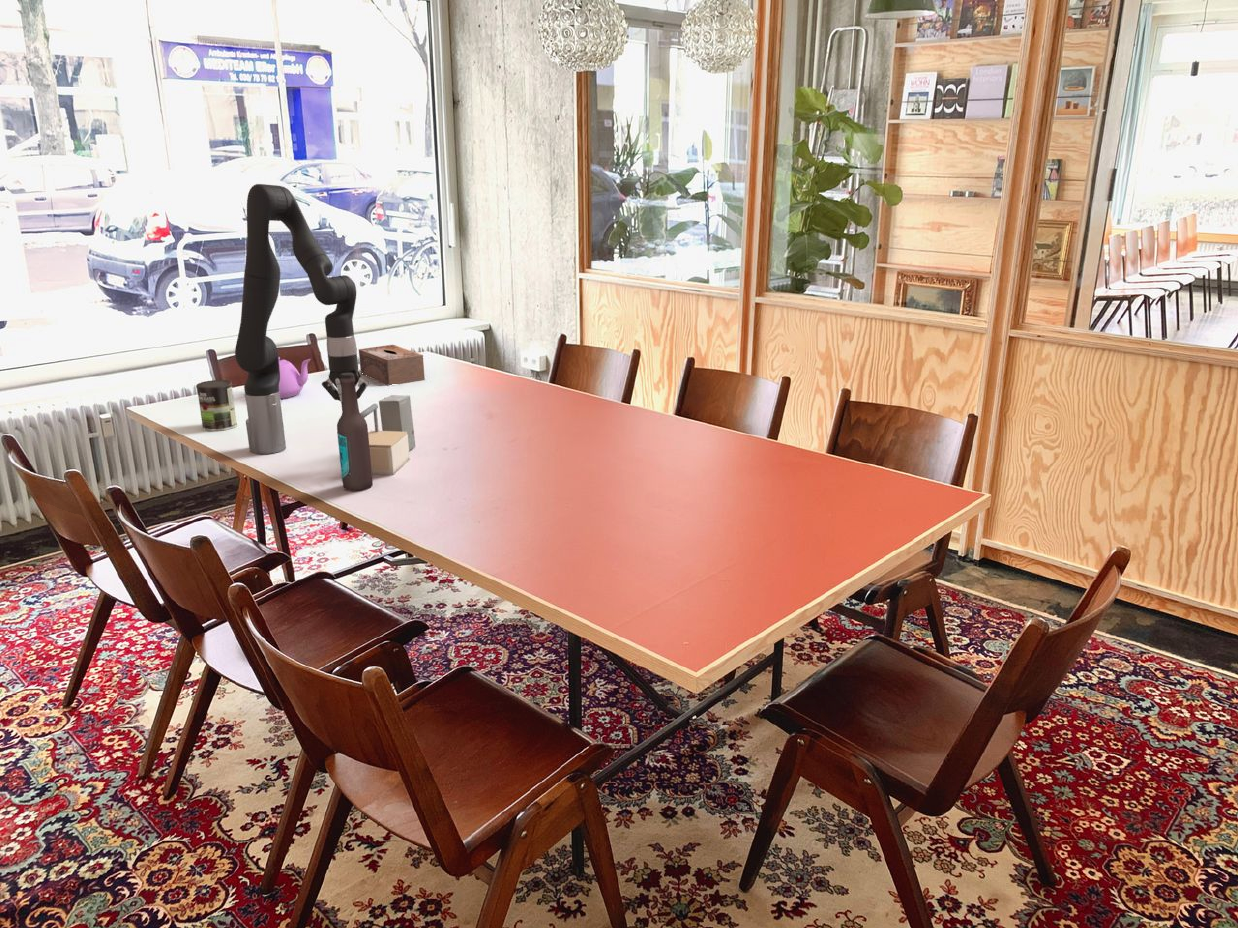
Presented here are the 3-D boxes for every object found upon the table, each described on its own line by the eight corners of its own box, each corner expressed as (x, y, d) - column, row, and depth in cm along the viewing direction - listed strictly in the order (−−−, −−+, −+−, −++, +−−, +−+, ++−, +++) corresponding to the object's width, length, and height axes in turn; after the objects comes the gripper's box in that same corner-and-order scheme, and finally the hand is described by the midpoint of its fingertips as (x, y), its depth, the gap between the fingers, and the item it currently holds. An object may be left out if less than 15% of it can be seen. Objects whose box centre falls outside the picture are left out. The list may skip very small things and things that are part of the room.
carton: (353, 473, 251) (351, 447, 248) (372, 457, 264) (370, 432, 261) (393, 475, 249) (390, 448, 247) (410, 459, 263) (408, 433, 260)
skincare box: (405, 455, 266) (400, 401, 261) (381, 453, 268) (377, 400, 263) (416, 446, 274) (412, 394, 269) (394, 445, 275) (389, 393, 270)
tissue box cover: (360, 374, 365) (358, 349, 362) (394, 369, 374) (392, 344, 370) (389, 386, 346) (387, 360, 343) (424, 380, 354) (422, 355, 351)
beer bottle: (341, 484, 243) (329, 372, 234) (370, 480, 246) (360, 369, 236) (345, 493, 237) (333, 378, 227) (375, 489, 239) (364, 375, 230)
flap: (353, 445, 249) (350, 415, 246) (371, 432, 261) (368, 402, 258) (391, 446, 248) (388, 416, 245) (407, 433, 260) (404, 404, 257)
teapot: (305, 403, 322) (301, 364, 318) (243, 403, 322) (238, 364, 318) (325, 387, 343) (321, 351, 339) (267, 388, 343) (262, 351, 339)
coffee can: (220, 433, 288) (214, 388, 284) (195, 429, 292) (188, 385, 287) (244, 424, 297) (239, 381, 293) (220, 421, 301) (213, 378, 296)
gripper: (312, 355, 245) (319, 418, 250) (360, 355, 243) (366, 419, 249) (324, 349, 252) (331, 410, 257) (371, 349, 250) (377, 411, 256)
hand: (348, 414), depth 253 cm, fingers closed
